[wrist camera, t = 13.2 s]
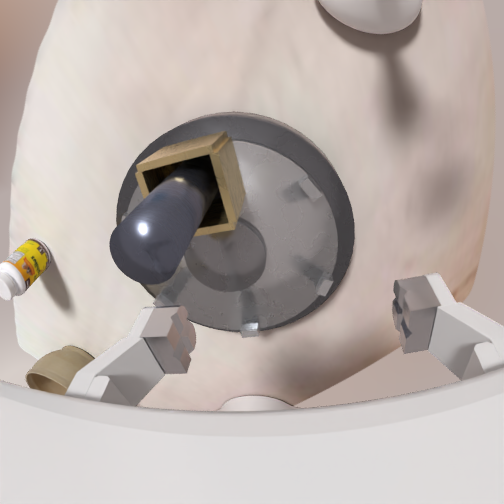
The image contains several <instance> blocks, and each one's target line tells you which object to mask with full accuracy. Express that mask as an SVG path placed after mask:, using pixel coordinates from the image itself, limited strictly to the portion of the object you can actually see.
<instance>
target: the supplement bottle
mask: <svg viewBox="0 0 504 504" xmlns="http://www.w3.org/2000/svg"><path fill="white" fill-rule="evenodd" d="M50 260H51V258H50V253H49V251H48V249H47V247H46V246H45V244H44V243H43V242H42V241H40V240H38V239H36V238H30V239H28V240H27V241H26V242H25V243H23V244H22V245H21V246H20V247H19V248H18V249H17V250H15V251H14V252H13V253H12V254H11V255H10V256H9V257H8V258H7V259H6V260H4V261H3V262H2V263H1V264H0V296H1V297H2V298H3V299H5V300H8V301H9V300H11V299H12V298H13V297H14V296H15V295H16V296H20V295H22V294H23V293H24V292H25V291H26V290H27V289H28V288H29V287H30V286H31V285H32V283H33V282H34V281H35V280H36V279H37V278H38V277H39V276H40V275H41V274H42V273H43V272H44V271H45V270H46V269H47V267H48V266H49V264H50Z"/></svg>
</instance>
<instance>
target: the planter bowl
mask: <svg viewBox="0 0 504 504" xmlns="http://www.w3.org/2000/svg"><path fill="white" fill-rule="evenodd" d="M93 360H94V358H93V357H92V356H90V355H89V354H88V353H86V352H85V351H83V350H81V349H79V348H77V347H74V346H65V347H63V348H62V350H57V351H54V352H51V353H49V354H47V355H45V356H44V357H42V358H41V359H40V360H38V361H37V363H36V364H35V365H34V366H33V367H32V369H31V370H29V371H28V372H27V374H26V376H25V378H26V382H27V384H28V385H29V387H30V388H31V389H36V390H40V391H44V392H49V393H54V394H58V395H63V396H64V395H65V393H66V391H67V390H68V388H69V386H70V384H71V382H72V380H73V378H74V377H75V375H76V373H77V372H78V371H79V370H81V369H82V368H83V367H85V366H86V365H87V364H89V363H90V362H91V361H93Z"/></svg>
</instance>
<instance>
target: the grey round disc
mask: <svg viewBox="0 0 504 504" xmlns="http://www.w3.org/2000/svg"><path fill="white" fill-rule="evenodd" d="M207 154H210V158H211V161H212V165H213V168H214V172H215V175H216V179H217V183H218V186H219V190H218V192H217V194H216V196H215V197H214V199H213V201H212V203H211V205H210V207H209V208H208V210H207V212H206V214H205V216H204V218H203V220H202V221H201V223H200V225H199V227H198V229H197V231H196V233H195V235H194V236H193V238H192V240H191V242H190V244H189V246H188V248H187V250H186V252H185V254H184V256H183V258H182V260H181V262H180V263H179V265H178V267H177V269H176V271H175V273H174V275H173V276H172V277H171V278H170V279H169V280H167V281H165V282H163V283H160V284H155V285H149V284H145V285H146V286H147V287H148V288H149V289H150V290H151V292H152V293H153V294H154V295H155V296H156V298H155V300H154V302H153V304H154V305H155V306H174V305H182V306H184V307H185V308H186V310H187V312H188V316H187V318H188V319H190V320H193V321H195V322H198V323H201V324H203V325H207V326H211V327H215V328H220V329H227V330H240V333H241V336H242V338H243V337H255V336H259V331H260V328H265V327H269V326H273V325H276V324H279V323H281V322H284V321H286V320H288V319H290V318H292V317H294V316H296V315H297V314H299V313H300V312H302V311H303V310H305V309H306V308H307V307H308V306H309V305H310V304H311V303H313V302H314V301H315V300H316V298H317V297H318V296H319V295H322V296H326V294H327V292H328V291H329V289H330V287H331V285H332V283H333V277H332V273H333V270H334V266H335V263H336V258H337V250H338V236H337V229H336V224H335V220H334V216H333V213H332V211H331V208H330V205H329V202H328V200H327V198H326V196H325V195H324V193H323V191H322V189H321V188H320V186H319V185H318V184H317V182H316V181H315V180H314V178H313V177H312V176H311V175H310V174H309V173H308V172H307V171H306V170H305V169H304V168H303V167H302V166H301V165H299V164H298V163H297V162H295V161H294V160H293V159H292V158H290V157H289V156H287V155H285V154H283V153H281V152H280V151H278V150H276V149H274V148H271V147H269V146H266V145H264V144H261V143H257V142H253V141H249V140H243V139H233V138H232V137H228V135H227V132H226V131H223V132H219V133H214V134H210V135H206V136H202V137H198V138H194V139H191V140H187V141H183V142H180V143H176V144H172V145H169V146H165V147H163V148H161V149H160V150H158V151H157V152H155V153H153V154H152V155H150V156H149V157H148V158H146V159H145V160H143V161H142V162H140V163H139V164H137V165H136V167H137V170H138V172H137V173H135V175H136V178H137V181H138V186H137V188H136V190H135V192H134V194H133V196H132V198H131V201H130V204H129V207H128V211H126V212H125V213H124V214H123V215H122V221H123V220H124V219H125V218H126V217H127V216H128V215H129V214H130V213H131V212H132V211H133V210H134V208H135V207H136V206H137V205H138V204H139V203H140V202H142V201H143V200H144V199H145V198H146V197H147V196H148V195H149V194H150V193H151V192H152V191H153V190H154V189H155V188H156V187H157V186H158V185H159V184H160V183H161V182H162V181H163V180H164V179H165V178H166V177H167V176H169V175H170V174H171V173H172V172H173V171H174V170H175V169H176V168H177V167H178V166H179V165H180V164H182V163H183V162H184V161H185V160H187V159H191V158H195V157H199V156H203V155H207Z"/></svg>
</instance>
